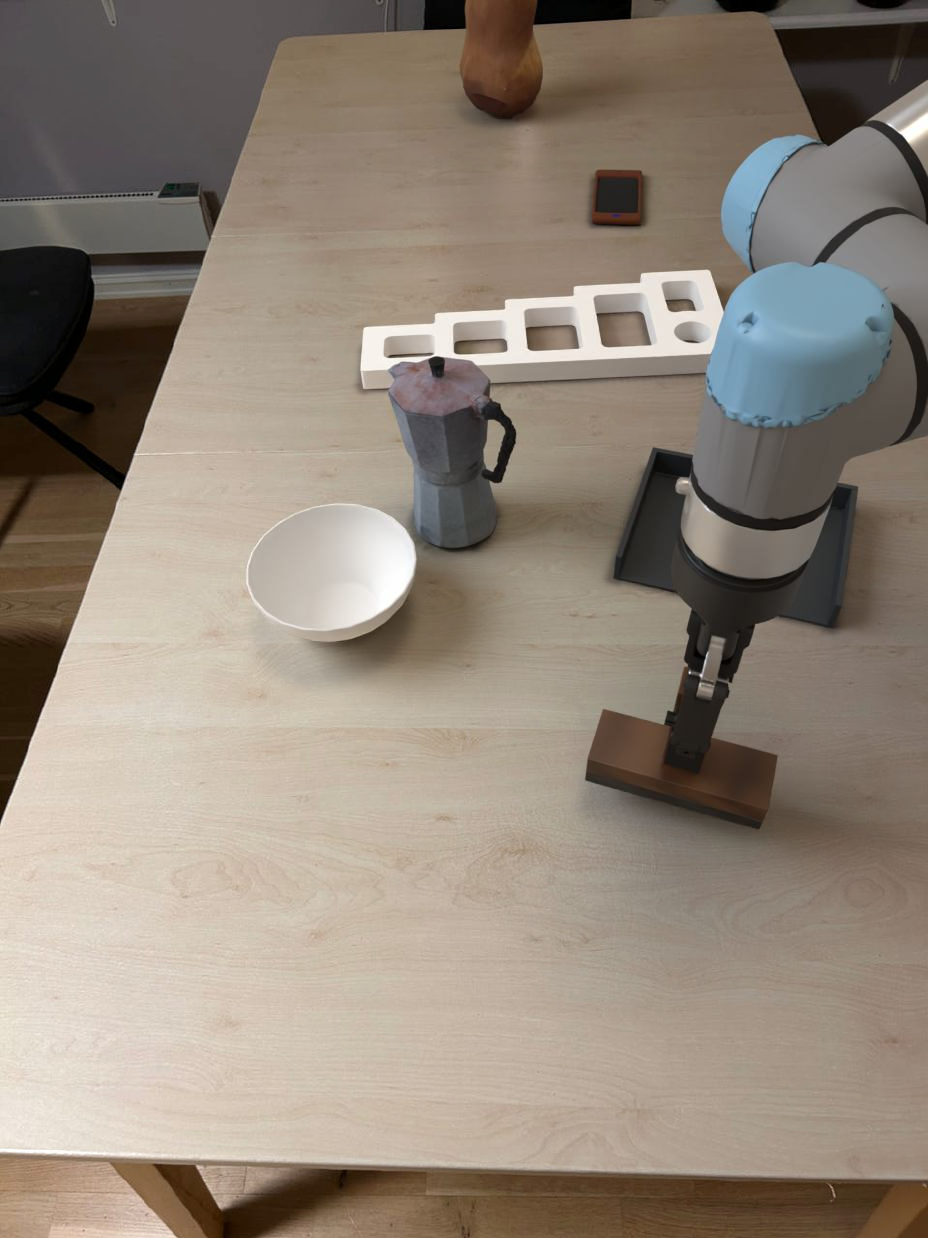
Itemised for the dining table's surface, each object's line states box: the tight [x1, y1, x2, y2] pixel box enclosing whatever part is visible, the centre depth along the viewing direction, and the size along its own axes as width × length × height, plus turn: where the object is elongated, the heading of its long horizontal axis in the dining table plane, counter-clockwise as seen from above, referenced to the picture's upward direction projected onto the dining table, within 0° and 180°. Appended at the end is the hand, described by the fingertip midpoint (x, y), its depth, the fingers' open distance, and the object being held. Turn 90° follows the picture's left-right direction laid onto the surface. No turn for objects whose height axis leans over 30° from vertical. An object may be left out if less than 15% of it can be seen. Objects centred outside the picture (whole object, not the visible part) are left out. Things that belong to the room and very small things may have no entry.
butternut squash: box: [459, 0, 544, 120], centre depth 150 cm, size 14×13×25 cm
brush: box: [584, 666, 779, 831], centre depth 70 cm, size 14×5×14 cm, turn 70°
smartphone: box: [591, 169, 643, 226], centre depth 139 cm, size 7×1×15 cm
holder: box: [359, 269, 725, 390], centre depth 118 cm, size 45×18×3 cm, turn 91°
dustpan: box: [613, 446, 859, 629], centre depth 97 cm, size 27×21×3 cm
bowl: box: [245, 502, 418, 643], centre depth 90 cm, size 16×16×7 cm
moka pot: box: [387, 356, 517, 549], centre depth 91 cm, size 10×15×20 cm, turn 55°
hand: (686, 747), depth 72 cm, fingers closed on brush, 2 cm apart
